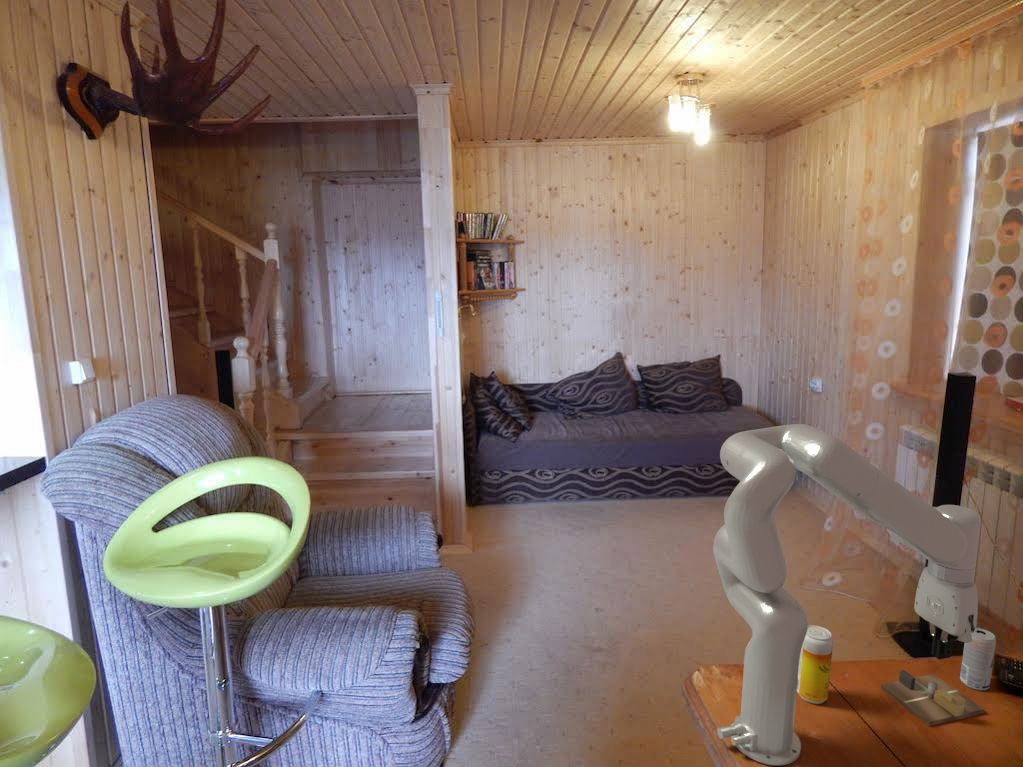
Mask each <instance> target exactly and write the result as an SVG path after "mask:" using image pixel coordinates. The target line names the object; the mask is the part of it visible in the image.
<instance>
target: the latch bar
mask: <svg viewBox="0 0 1023 767" xmlns="http://www.w3.org/2000/svg"><path fill="white" fill-rule="evenodd" d="M934 701H935V702H936V703H937V704H939V705H940V706H941V707H943V708H944V709H945V710H947V711H948V712H950V713H951V714H952V715H954V716H955V717H956V716H960V715H963V712H964V705H965V699H963V698H962V697H960V696H958V697H954V696H952V695H951V694H949V693H948V692H946V691H945V690H944V689H939V690H935V694H934Z"/></svg>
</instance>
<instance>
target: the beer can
mask: <svg viewBox="0 0 1023 767" xmlns="http://www.w3.org/2000/svg"><path fill="white" fill-rule="evenodd" d="M833 648H834V638H833V636H832V632H830V630H829V629H827V628H825V627H823V626H819V625H815V624H808V629H807V633H806V636H805V639H804V642H803V645H802V648H801V653H800V659H799V668H798V681H797V694H798V695H799V697H800V698H801V699H803V701H805V702H807V703H810V704H814V705H820V704H823V703H824V702H826V701H827V700H828V698H829V690H830V689H829V688H830V680H831V668H832V658H833V657H832V656H833Z"/></svg>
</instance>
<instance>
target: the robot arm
mask: <svg viewBox="0 0 1023 767" xmlns="http://www.w3.org/2000/svg"><path fill="white" fill-rule="evenodd" d="M719 458H720V462H721V464H722V467H723V468H724V469H725V471H726V472H728V473H729V474H730V475H731V476H733V477H735V479H737V480H739V483H738V484H737V485H736V486H735V488H734V489H733V490H732V492H731V494H730V496H728V499H727V501H726V503H725V504H724V508H723V520H724V524H723V525H721V526H720V528H719V529H718V530H717V532H716V534H715V535H714V540H713V546H712V547H713V548H712V550H713V551H712V552H713V556H714V559H715V563H716V567H717V570H718V573H719V576H720V579H721V583H722V586H723V589H724V593H725V595H726V598H727V599H728V601H729V604H730V605H731V606H732V608H734V610H735V611H736V612H737V613H738V614H739V615H740V616H741V618H742V619H743V620H744V621H745V622H746V624H747V625H748V626H749V627H750V629H751V631H752V632H751V638H750V640H749V642H748V643H747V645H746V647H745V650H744V657H743V671H742V672H743V673H742V674H743V676H742V687H741V688H742V690H741V702H740V705H741V706H740V715H736V716H735V720H734V721H733V723H731V724H730V725H729V726H727V725H725V726H721V727H717V729H716V731H717V736H718V737H719V739H720V740H723V739H728V738H730V741H731V744H732V745H733V746H735V747H736V748H737V749H738V751H740V752H741V753H742V754H743V755H744V756H747V758H749V759H752V760H753V761H756V762H758V763H761V764H764V765H769V766H786V765H790V764H791V763H794V762H795V761H797V760H798V759H799V757H800V755H801V752H802V751H801V750H802V742H801V740H800V737H799V736H798V734H797V733H796V732H795V731H794V730H795V728H794V726H795V725H794V724H795V715H796V704H797V703H796V701H797V694H798V692H797V681H798V668H799V659H800V653H801V648H802V645H803V642H804V639H805V636H806V633H807V629H808V626H809V620H808V616H807V613H806V611H805V608H804V607H803V606H802V604H801V603H800V602H799V601H798V600H797V598H796V597H794V596H793V595H792V594H791V593H790V592H789V591H788V590H786V589H785V587H783V586H784V584H785V583H786V580H787V578H788V577H787V576H788V568H787V567H788V566H787V561H786V557H785V553H784V551H783V547H782V543H781V540H780V536H779V533H778V530H777V524H776V518H775V514H776V509H777V507H778V506H779V504H780V502H781V501H782V500H783V499H784V497H785V496H786V495H787V493H788V492H789V491H790V490H791V488H792V487H793V485H794V483H795V479H796V475H797V474H796V473H797V471H796V470H798V471H799V472H801V473H803V474H805V475H806V476H808V477H810V479H812V480H814V481H815V482H816V483H818V484H819V485H820V486H821V487H822V488H824V489H826V490H827V491H828V492H830V493H831V494H833V495H834V496H835V497H837V499H839V500H840V501H842V503H844V504H846V505H847V506H848V507H850V508H851V509H852V510H854V511H856V512H857V513H859V514H860V515H861V516H863V517H865V518H866V519H868V520H870V521H872V522H874V523H876V524H877V525H880V526H881V527H883V528H885V529H886V532H887V533H888V534H889V535H890V536H891V537H892V538H893V539H894V540H896V541H897V542H899V543H901V544H903V546H906V547H907V548H909V549H911V550H913V551H915V552H916V553H918V554H919V555H922V556H923V557H924V558H925V559H926V560H927V561H928V562H927V566H926V567H923V570H922V572H921V574H920V576H919V580H918V583H917V588H916V592H915V598H914V608H913V609H914V611H915V613H916V614H917V615H918V616H919V617H920V618H922V619H923V620H924V621H925V622H926V623H927V626H928V627H929V633H930V635H931V636H932V643H931V652H930V653H931V655H932V656H933V657H936V658H935V659H937V660H938V661H939V660H943V659H944V660H945V659H949V658H951V657H952V654H953V646H954V642H955V641H959V642H962V643H964V644H965V643H968V642H972V634H971V633H973V632H974V631H975V629H976V628H977V624H978V614H979V613H978V611H979V610H978V609H979V604H978V602H979V600H978V590H977V584H976V583H975V573H976V565H977V555H978V547H979V540H980V539H979V538H980V532H981V522H982V521H981V520H982V519H981V517H980V515H979V513H978V512H976V511H975V510H974V509H972V508H969V507H966V506H961V505H955V504H942V505H939V506H932V505H930V504H929V503H928V502H926V501H924V499H921V498H920V497H919V496H917V494H915V493H912V492H911V491H910V490H908V488H906V487H904V486H903V485H902V484H900V483H899V482H898V481H896V480H895V479H894V478H892V477H890V476H889V475H887V474H886V473H885V472H884V471H882V470H881V469H880V468H878V467H877V466H875V464H872V463H871V462H870V461H869V460H867V459H866V458H865V457H863V455H862V454H860V453H859V452H857V451H856V450H855V449H853V448H852V447H850V446H849V444H847V443H846V442H845V441H843V440H842V439H840V438H838V436H835V435H833V434H831V433H828V432H827V431H824V430H821V429H819V428H817V427H814V426H813V425H809V424H805V423H792V424H785V425H777V426H776V425H775V426H771V427H764V428H758V429H751V430H745V431H740V432H736V433H734V434H732V435H730V436H729V437H728V438H727V439H726V440H725V441H724V442H723V443H722V445H721V448H720V451H719Z"/></svg>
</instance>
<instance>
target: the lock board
mask: <svg viewBox="0 0 1023 767" xmlns="http://www.w3.org/2000/svg"><path fill="white" fill-rule="evenodd" d="M898 677H899V679H898V680H897V681H892V682H888V683H882V684H881V686H880V690H882V691H883V692H884V693H886V694H887V695H888V696H889V697H891V698H892V699H893V700H894V701H895V702H897V703H899V704H900V705H901V706H903V707H904V708H905V709H906V710H908V712H910V713H911V714H913V716H915V717H916V718H917V719H919V720H920V721H921V722H923V723H924V724H925V725H927V726H928V727H932V726H936V725H940V724H944V723H948V722H952V721H953V722H954V721H957V720H958V721H959V720H962V719H965V718H970V717H974V716H979V715H983V714H985V708H983V707H982V705H980V704H978V703H976V702H975V701H974V700H972V699H971V698H969V697H967V696H966V695H965V694H963V693H962V692H961V691H959V690H958V689H956V688H954V687H953V686H952V685H950V683H948V682H946V681H945V680H943V679H942V678H940V677H939V676H937V675H936V674H934V673H930V674H926V675H921V676H917V677H914V676H913V675H912V674H911V673H909V672H907V671H906V670H904V669H901V670H899V676H898ZM939 689H944V690H945V691H946V692H948V693H949V694H951V695H952V696H954V697H958V696H960V697H962V698H963V699H965V705H964V712H963V715H960V716H956V717H955V716H954V715H952V714H951V713H950V712H948V711H947V710H945V709H944V708H943V707H941V706H940V705H939V704H937V703H936V702H935V701H934V694H935V690H939Z"/></svg>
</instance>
